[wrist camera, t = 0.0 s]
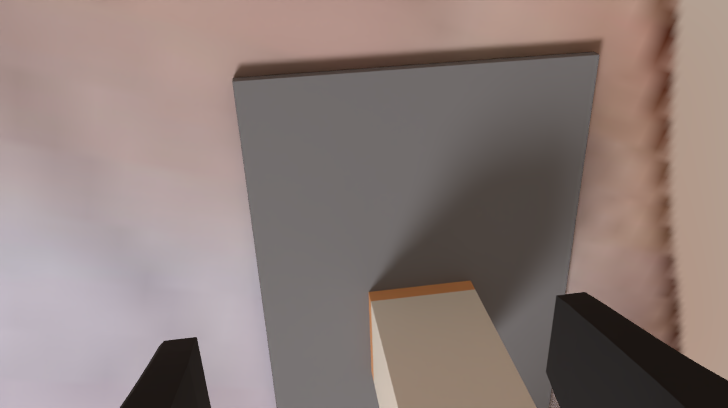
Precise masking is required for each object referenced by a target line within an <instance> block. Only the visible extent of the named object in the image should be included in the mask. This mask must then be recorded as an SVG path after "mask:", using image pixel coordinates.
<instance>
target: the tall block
mask: <svg viewBox="0 0 728 408" xmlns="http://www.w3.org/2000/svg"><path fill="white" fill-rule="evenodd" d="M369 318H370V345H371V371H372V376H373V381H374V385H375V390H376V394H377V399H378V403H379V408H537V407H536V405H535V404H534V402H533V400H532V398H531V396H530V394H529V392H528V390H527V388H526V386H525V384H524V382H523V380H522V379H521V377H520V375H519V373H518V371H517V369H516V367H515V365H514V363H513V361H512V359H511V357H510V355H509V354H508V352H507V350H506V348H505V346H504V344H503V342H502V340H501V338H500V336H499V334H498V332H497V331H496V329H495V327H494V325H493V323H492V321H491V319H490V317H489V315H488V313H487V311H486V309H485V307H484V306H483V304H482V302H481V300H480V298H479V296H478V294H477V292H476V290H475V288H474V286H473V284H472V282H471V281H461V282H453V283H444V284H435V285H426V286H417V287H408V288H399V289H391V290H382V291H373V292H369Z"/></svg>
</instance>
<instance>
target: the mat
mask: <svg viewBox="0 0 728 408" xmlns="http://www.w3.org/2000/svg"><path fill="white" fill-rule="evenodd" d="M598 61H599V54H597V53H595V52H585V53H572V54H558V55H544V56H530V57H517V58H503V59H489V60H475V61H461V62H448V63H434V64H420V65H406V66H393V67H379V68H365V69H351V70H337V71H324V72H310V73H296V74H282V75H269V76H255V77H241V78H233V81H232V82H233V90H234V97H235V104H236V112H237V119H238V126H239V134H240V141H241V148H242V156H243V163H244V170H245V178H246V185H247V192H248V200H249V207H250V214H251V222H252V229H253V237H254V244H255V251H256V259H257V266H258V273H259V281H260V288H261V295H262V303H263V310H264V317H265V325H266V332H267V339H268V347H269V354H270V361H271V369H272V376H273V384H274V391H275V398H276V406H277V408H379V403H378V399H377V394H376V390H375V385H374V381H373V376H372V371H371V345H370V318H369V292H373V291H382V290H391V289H399V288H408V287H417V286H426V285H435V284H444V283H453V282H461V281H471V282H472V284H473V286H474V288H475V290H476V292H477V294H478V296H479V298H480V300H481V302H482V304H483V306H484V307H485V309H486V311H487V313H488V315H489V317H490V319H491V321H492V323H493V325H494V327H495V329H496V331H497V332H498V334H499V336H500V338H501V340H502V342H503V344H504V346H505V348H506V350H507V352H508V354H509V355H510V357H511V359H512V361H513V363H514V365H515V367H516V369H517V371H518V373H519V375H520V377H521V379H522V380H523V382H524V384H525V386H526V388H527V390H528V392H529V394H530V396H531V398H532V400H533V402H534V404H535V405H536V407H537V408H549V404H550V397H551V390H552V386H551V384H550V381H549V379H548V376H547V374H546V367H547V360H548V352H549V345H550V338H551V330H552V323H553V316H554V309H555V301H556V295H565V292H566V285H567V278H568V271H569V264H570V257H571V250H572V243H573V236H574V229H575V222H576V215H577V208H578V201H579V194H580V187H581V180H582V173H583V166H584V159H585V152H586V145H587V138H588V131H589V124H590V117H591V110H592V103H593V96H594V89H595V82H596V75H597V68H598Z"/></svg>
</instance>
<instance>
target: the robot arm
mask: <svg viewBox="0 0 728 408" xmlns="http://www.w3.org/2000/svg"><path fill="white" fill-rule="evenodd" d="M546 374H547V376H548V379H549V381H550V384H551V386H552V389H553V391H554V394H555V396H556V399H557V401H558V403H559V406H560V408H728V381H727V380H726V379H724V378H722V377H720V376H719V375H717V374H715V373H713V372H712V371H710V370H708V369H706V368H705V367H703V366H701V365H699V364H698V363H696V362H694V361H693V360H691V359H689V358H688V357H686V356H684V355H683V354H681V353H679V352H678V351H676V350H675V349H673V348H671V347H670V346H668V345H667V344H665V343H663V342H662V341H660V340H659V339H657V338H656V337H654V336H653V335H651V334H649V333H648V332H646V331H645V330H643V329H642V328H640V327H639V326H637V325H636V324H634V323H633V322H631V321H629V320H628V319H626V318H625V317H623V316H622V315H620V314H619V313H617V312H616V311H614V310H613V309H611V308H610V307H608V306H607V305H605V304H603V303H602V302H600V301H599V300H597V299H595V298H594V297H592V296H590V295H589V294H587V293H585V292H582V293H574V294H565V295H556V301H555V309H554V316H553V323H552V330H551V338H550V345H549V352H548V360H547V367H546ZM120 408H211V406H210V401H209V396H208V391H207V386H206V381H205V376H204V371H203V366H202V361H201V356H200V351H199V346H198V341H197V337H194V338H185V339H176V340H168V341H164V342H163V343H162V344H161V345H160V346H159V348H158V349H157V351H156V352H155V354H154V356H153V357H152V359H151V361H150V362H149V364H148V366H147V367H146V369H145V370H144V372H143V374H142V375H141V377H140V378H139V380H138V381H137V383H136V384H135V386H134V387H133V389H132V390H131V392H130V394H129V395H128V397H127V398H126V399H125V401H124V402H123V404H122V405H121V407H120Z"/></svg>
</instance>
